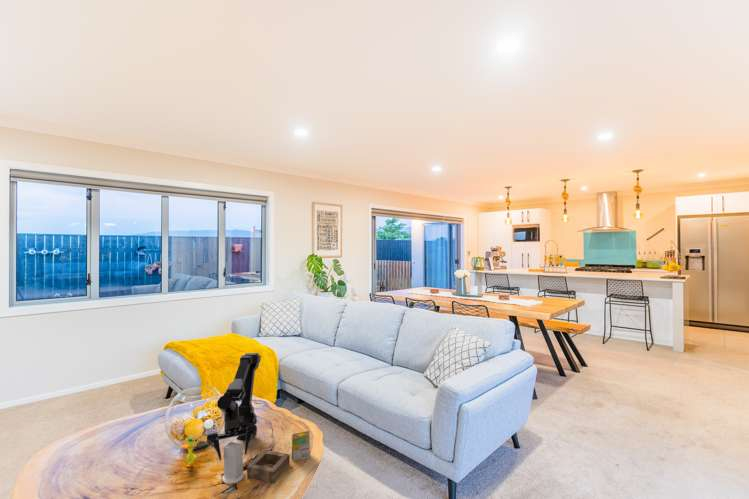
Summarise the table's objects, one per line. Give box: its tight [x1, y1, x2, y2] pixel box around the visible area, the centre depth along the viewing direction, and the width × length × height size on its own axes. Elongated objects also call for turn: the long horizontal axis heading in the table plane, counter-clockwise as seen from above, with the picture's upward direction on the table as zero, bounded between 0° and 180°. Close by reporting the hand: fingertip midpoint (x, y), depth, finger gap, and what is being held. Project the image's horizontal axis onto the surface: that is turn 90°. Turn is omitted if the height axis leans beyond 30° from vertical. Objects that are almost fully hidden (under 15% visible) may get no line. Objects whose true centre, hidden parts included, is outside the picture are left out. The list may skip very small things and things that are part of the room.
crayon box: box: [291, 430, 311, 462], centre depth 156 cm, size 7×3×12 cm, turn 111°
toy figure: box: [179, 436, 197, 468], centre depth 150 cm, size 7×4×12 cm, turn 92°
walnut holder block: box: [246, 449, 291, 484], centre depth 146 cm, size 12×12×4 cm
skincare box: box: [223, 441, 244, 480], centre depth 143 cm, size 6×4×12 cm
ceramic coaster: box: [222, 470, 245, 485], centre depth 143 cm, size 8×8×1 cm
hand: (233, 457), depth 142 cm, fingers open, 9 cm apart
